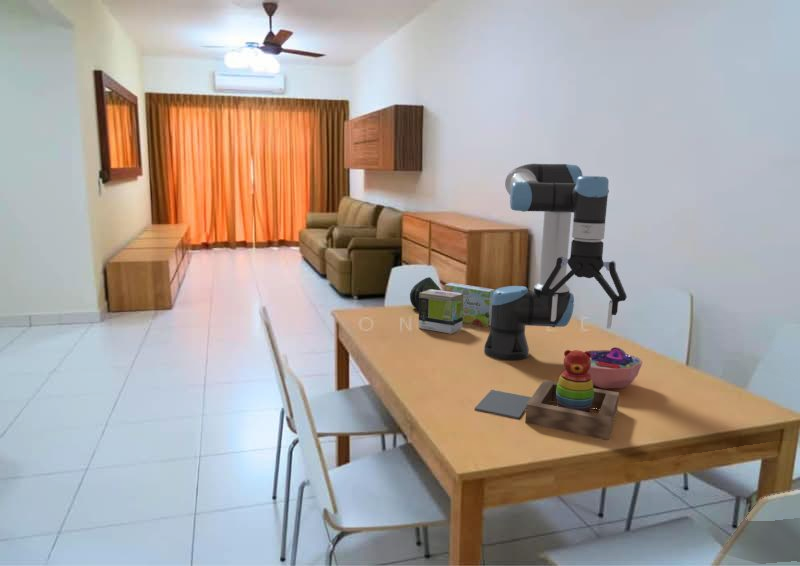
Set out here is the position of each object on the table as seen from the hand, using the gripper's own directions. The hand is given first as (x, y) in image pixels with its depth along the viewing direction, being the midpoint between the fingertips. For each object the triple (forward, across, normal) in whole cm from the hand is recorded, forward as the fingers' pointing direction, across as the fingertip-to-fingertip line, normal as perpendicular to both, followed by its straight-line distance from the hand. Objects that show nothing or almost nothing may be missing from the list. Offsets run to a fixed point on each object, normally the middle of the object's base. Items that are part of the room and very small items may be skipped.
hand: (580, 323), depth 149 cm
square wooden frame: (+25, 0, 0) cm, 25 cm away
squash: (+25, -80, +88) cm, 122 cm away
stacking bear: (+25, 0, 0) cm, 25 cm away
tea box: (+25, -62, +61) cm, 91 cm away
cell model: (+25, +5, +28) cm, 38 cm away
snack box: (+25, -56, +77) cm, 99 cm away
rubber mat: (+25, -18, -1) cm, 31 cm away
